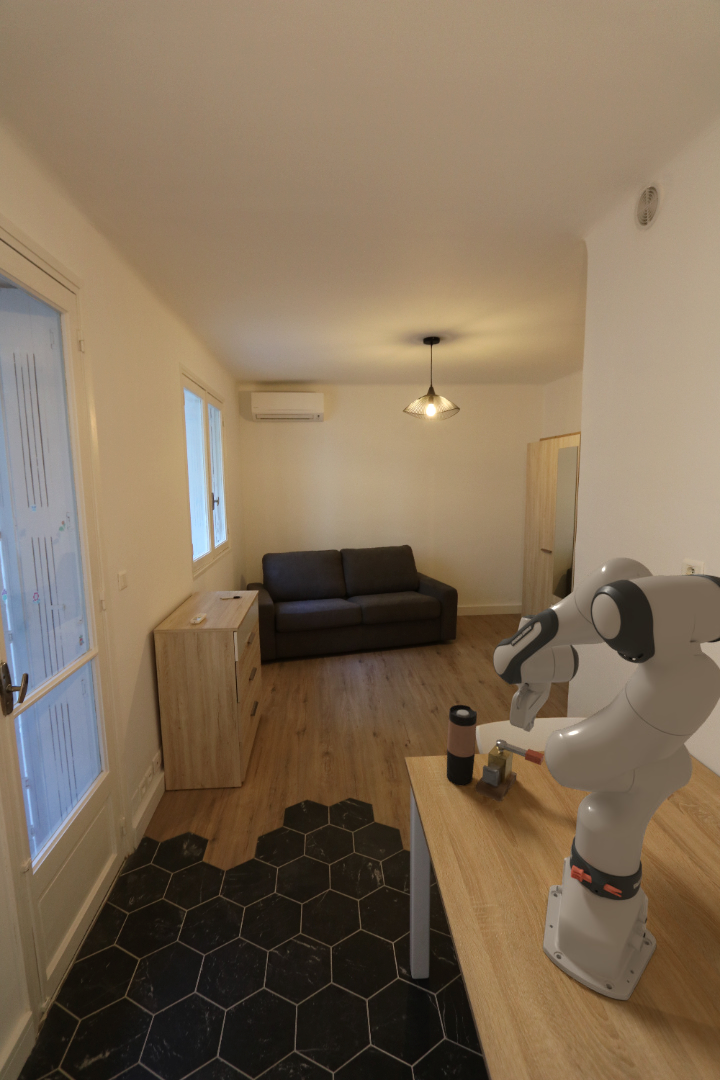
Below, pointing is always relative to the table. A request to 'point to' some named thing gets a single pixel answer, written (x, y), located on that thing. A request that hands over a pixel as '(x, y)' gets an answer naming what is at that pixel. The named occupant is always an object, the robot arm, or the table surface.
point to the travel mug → (461, 744)
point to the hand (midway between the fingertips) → (528, 728)
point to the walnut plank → (493, 791)
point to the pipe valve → (497, 767)
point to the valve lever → (521, 752)
